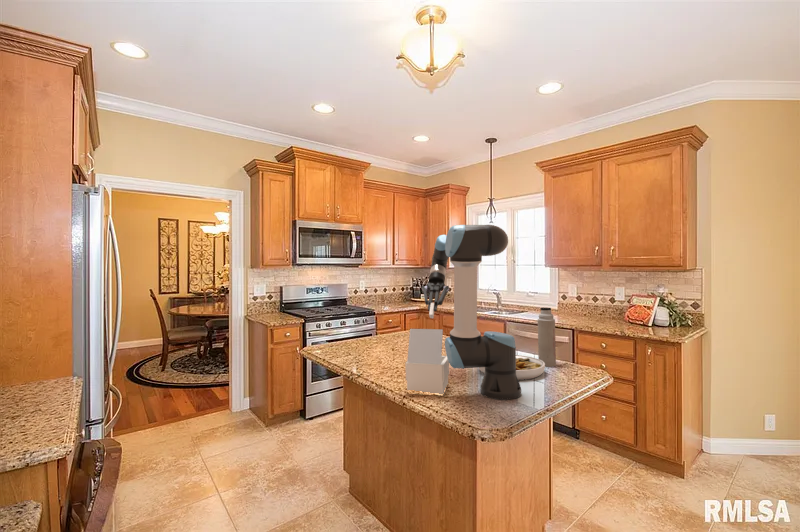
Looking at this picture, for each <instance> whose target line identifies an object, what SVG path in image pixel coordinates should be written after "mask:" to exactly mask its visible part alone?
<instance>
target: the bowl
mask: <svg viewBox="0 0 800 532" xmlns="http://www.w3.org/2000/svg"><path fill="white" fill-rule="evenodd" d="M478 369H479V371H480V372H481V373H483V374H485V367H478ZM545 369H546V367H545V363H544V362H543V361H542V360H539V359H538V358H536V357H532V356H528V355H522V354H516V375H517V378H518V381H520V380H521V381H523V380H524V379H525V380H531V379H534V378H537V377H538V378H539V377H540V376H541V375H542V374H543V373H544V372H545Z"/></svg>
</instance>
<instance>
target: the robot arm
mask: <svg viewBox="0 0 800 532" xmlns="http://www.w3.org/2000/svg"><path fill="white" fill-rule="evenodd" d="M508 245H509V237H508V234H507V233H506V230H504V229H503V228H501V227H499V226H497V225H495V224H457V225H452V226H451V227H450V228H449V229H448V231H447V234H440V235H439V236H437V237H436V240H435V243H434V250H433V253H432V257H431V266H430V271H429V277H428V280H427V281H428V282H427V284H426V285H425V286H424V285H421V289H422V292H423V299H424V303H425V305H426V306H427V311H428V312H429V313H428V316H429V319H434V315H435V312H437V311H438V306H442V305H443V303H444V301H445V299H446V296H447V294H448V292H450V286H449V285H446V284H445V283H446V281H445V280H446V275H447V273H446V272H447V265H448V263H449V262H450V263H451V264H452V265H453V268H454V269H453V273H454V274H453V328H452V329H451V330H450V331H449V336H448V337H446V338H445V339H444V340H445V341H444V348H445V354H446V355H445V356H447V358H448V361H449V366H450V367H452V368H453V369H463V370H464V369H477V368H478V367H485V374H484V373H483V374H484V375H483V378H482V381H481V384H480V393H481V394H482V395H483V396H484V397H486V396H487V398H489V397H490V399H494V400H514V399H518V398H520V397H521V396H522V386H521V384H520V382H519V381H520V380H518V378H517V375H516V355H517V354H516V351H517V346H516V340H515V337H514V335H512V334H509V333H505V332H500V331H490V330H489V331H488V330H487V331H484V333H483V335H482V334H481V331H480V330H479V329H478V266H479V265H480V264H481V263H482V262H483V260H482V259H483V257H490V256H491V257H492V256H497V255H500V254H501V253H504V251H505V250H506V248H507V247H508ZM448 260H449V261H448ZM427 291H429V297H428V292H427ZM440 293H441V294H440ZM478 369H479V368H478Z"/></svg>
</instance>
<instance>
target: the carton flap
mask: <svg viewBox="0 0 800 532" xmlns="http://www.w3.org/2000/svg"><path fill="white" fill-rule="evenodd" d="M443 333H444V329H437V328H436V329H434V328H410V329H409V337H408V347H407V349H408V350H407V359H406V362H407V363H426V364H441V357H442V356H443V353H442V351H443Z"/></svg>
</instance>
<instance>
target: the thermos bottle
mask: <svg viewBox="0 0 800 532" xmlns="http://www.w3.org/2000/svg"><path fill="white" fill-rule="evenodd" d="M554 316H555V315H554V314H553V313H552V308H551V307H540V313H539V314H538V318H537V344H538V345H537V346H538V352H537V353H538V354H537V355H538V358H537V359H539V360H542V361H543V362H544V363H545V368H553V367H552V366H555V367H556V366H557V352H556V351H557V350H556V349H557V348H556V319H555V318H554Z"/></svg>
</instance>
